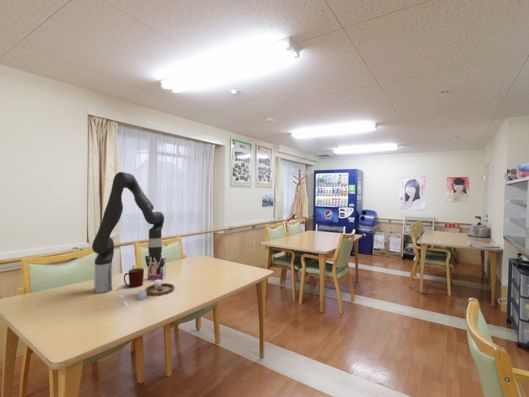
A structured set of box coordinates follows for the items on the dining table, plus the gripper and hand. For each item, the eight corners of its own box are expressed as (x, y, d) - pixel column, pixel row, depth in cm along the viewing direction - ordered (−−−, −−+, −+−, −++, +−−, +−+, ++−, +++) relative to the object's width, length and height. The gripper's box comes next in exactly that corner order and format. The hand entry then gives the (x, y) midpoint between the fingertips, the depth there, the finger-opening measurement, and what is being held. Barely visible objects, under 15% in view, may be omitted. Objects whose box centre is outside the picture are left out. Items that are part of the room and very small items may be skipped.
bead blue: (139, 302, 148) (139, 293, 148) (137, 300, 151) (137, 291, 151) (147, 300, 150) (147, 292, 150) (145, 298, 154) (145, 289, 154)
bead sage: (155, 290, 163) (155, 282, 163) (153, 288, 167) (153, 280, 166) (162, 288, 166) (162, 280, 166) (160, 286, 169) (160, 278, 169)
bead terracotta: (155, 275, 156) (155, 267, 156) (149, 274, 158) (149, 266, 158) (160, 273, 160) (160, 265, 160) (155, 272, 162) (155, 264, 162)
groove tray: (149, 299, 152) (149, 295, 151) (142, 291, 164) (142, 286, 164) (178, 293, 162) (178, 288, 162) (168, 285, 175) (168, 281, 174)
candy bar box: (147, 281, 183) (147, 257, 183) (150, 278, 188) (151, 255, 188) (162, 282, 182) (162, 258, 181) (166, 279, 187) (166, 256, 186)
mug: (127, 292, 163) (127, 274, 162) (120, 288, 168) (121, 271, 168) (146, 286, 172) (146, 270, 172) (139, 283, 178) (139, 267, 177)
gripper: (141, 245, 158) (141, 274, 158) (160, 247, 152) (160, 277, 153) (150, 243, 165) (150, 270, 165) (169, 245, 159) (169, 273, 160)
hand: (155, 273), depth 159 cm, fingers closed on bead terracotta, 4 cm apart
